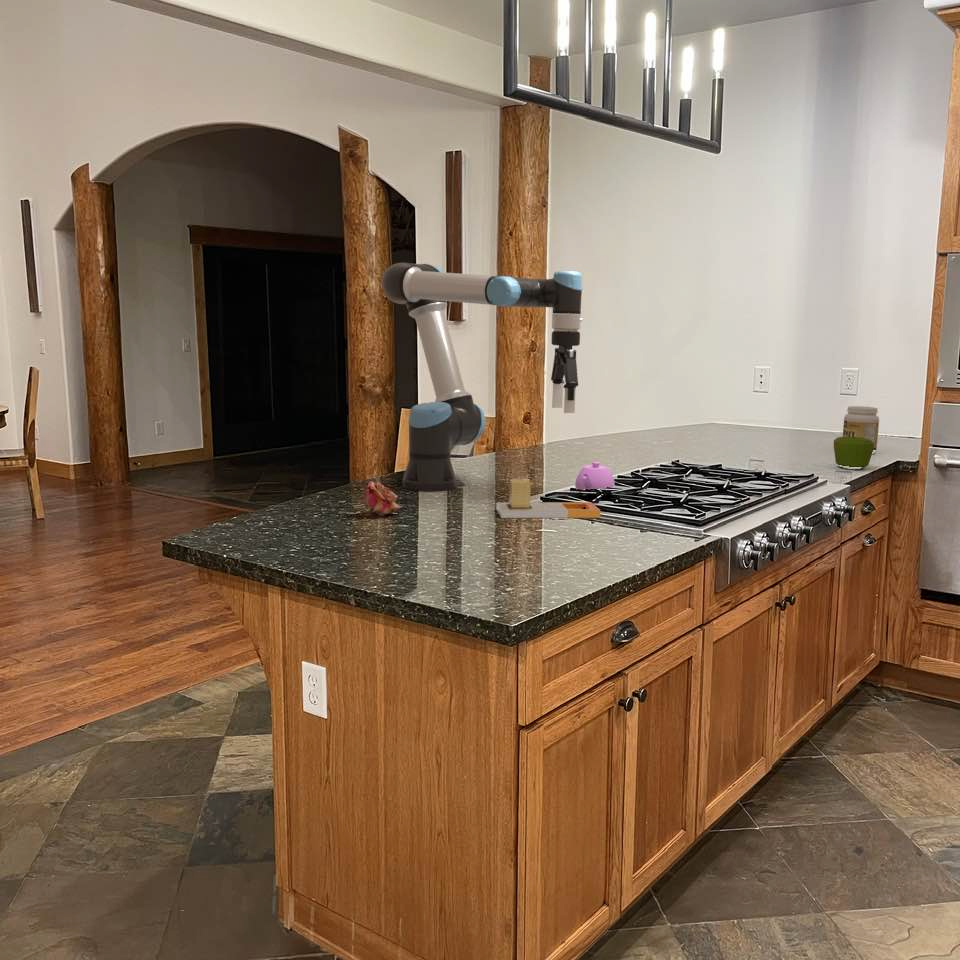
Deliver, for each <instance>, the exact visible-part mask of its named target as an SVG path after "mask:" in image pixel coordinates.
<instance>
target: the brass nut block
mask: <svg viewBox="0 0 960 960" xmlns="http://www.w3.org/2000/svg"><path fill="white" fill-rule="evenodd" d="M531 486H532V485H531V481H529V479H509V486H508V487H509V488H508V489H509V490H508V492H509V493H508V502H509V509H530V502H531Z"/></svg>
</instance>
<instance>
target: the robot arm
mask: <svg viewBox="0 0 960 960" xmlns="http://www.w3.org/2000/svg"><path fill="white" fill-rule="evenodd" d="M381 287H382V288H381V289H382V291H383V293H384V295H385V297H386V298H387V299H388V300H389V301H391V302H393V303H395V304H399V305H406V308H407V312H408V313H407V314H408V316H410V317H411V318H413V319H414V320H415V323H416V327H417V330H418V334H419V338H420V342H421V345H422V348H423V349H422V350H423V354H424V356H425V359H426V363H427V364H426V365H427V368H428V372H429V375H430V380H431V383H432V386H433V390H434V393H435V396H436V397H435V400H434V401H432V402H423V403H419V404H415V405H413V406H412V407H411V408H410V409H409V416H408V462H407V465H406V468H405V471H404V474H403V477H402V487H403V488H404V489H406V490H410V491H411V490H412V491H419V492H443V491H450V490H453V489H454V490H455V489H456V488H457V476H456V474H455V470H454V468H453V464H452V461H451V451H452V450H451V449H452V448H451V447H456V446H465V445H469V444H472V443H475V442H477V441H478V440H479V439H480V438H481V437H482V436H483V433H484V432H485V429H486V421H487V420H486V415H485V412H484V410H483V409H482V408H481V407H480V406H479V405H478V404H476V403H474V399H473V396H472V394H471V393H469V392H468V391H466V389H465V386H464V382H463V379H462V375H461V371H460V367H459V364H458V360H457V356H456V353H455V352H456V351H455V349H454V345H453V341H452V337H451V333H450V330H449V325H448V323H447V318H446V315H445V310H446V309H447V307H448V303H447V302H452V303H467V304H478V305H479V304H480V305H491V306H498V307H500V308H501V307H502V308H503V307H506V308H507V307H509V308H510V307H518V308H520V307H521V308H552V315H551V329H553V330H552V332H551V345H552V346H558V347H555V348H554V357H553V365H552V371H551V377H550V380H551V381H552V404H551V405H552V406H551V408H552V409H553V408H554V409H563V413H564V414H575V413H576V410H575V409H576V408H575V407H576V388H577V387H579V379H578V378H579V376H578V367H577V364H578V363H577V350H576V349H573V347H578V346H580V344H581V333H580V331H579V330H580V329H581V322H583V318H582V317H581V315H582V314H581V313H582V311H581V309H582V292H583V275H582V274H581V272H579V271H576V270H574V271H573V270H556V271H554V272H553V277H552V278H529V277H527V278H526V277H513V276H506V275H501V276H500V275H489V274H488V275H487V274H474V273H473V274H471V273H470V274H469V273H458V272H457V273H455V272H445V271H443V269H441V268H440V267H438V266H437V265H436V266H435V265H433V264H432V265H431V264H428V263H411V262H410V263H409V262H398V263H397V262H396V263H394V264H392V265H390V266H389V267H388V268H387V269H386V270H385V271H384V272H383V275H382V278H381ZM563 401H564V402H563Z"/></svg>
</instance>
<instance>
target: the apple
mask: <svg viewBox="0 0 960 960" xmlns="http://www.w3.org/2000/svg"><path fill="white" fill-rule="evenodd" d="M873 449H874V443H873V442H872V441H871V440H870V439H866V438H860V437H854V435H853V437H843V436H838V437H836V438H835V439H834V440H833V452H834V459H835V464H836V465H837V464H838V465H842V466H849V467H864V468H866V467H868V466H869V464H870V461H871V458H872V455H873V454H872V452H873ZM838 465H837V466H838Z"/></svg>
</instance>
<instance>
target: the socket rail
mask: <svg viewBox="0 0 960 960" xmlns="http://www.w3.org/2000/svg"><path fill="white" fill-rule="evenodd" d="M584 507H585V508H586V509H581V508H584ZM495 510H496V512H497V514H498V516H500V519H601V509H600V508H598V507H597V506H596V505H595V503H593V502H590V501H589V502H587V501H586V502H583V501H582V502H580V501H579V502H575V501H574V502H566V501H565V502H562V501H561V502H554V501H553V502H551V501H550V502H549V501H548V502H547V501H546V502H541V501H539V502H537V501H535V502H532V501H530V509H509V501H508V502H505V501H504V502H500V501H499V502H496V509H495Z"/></svg>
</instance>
